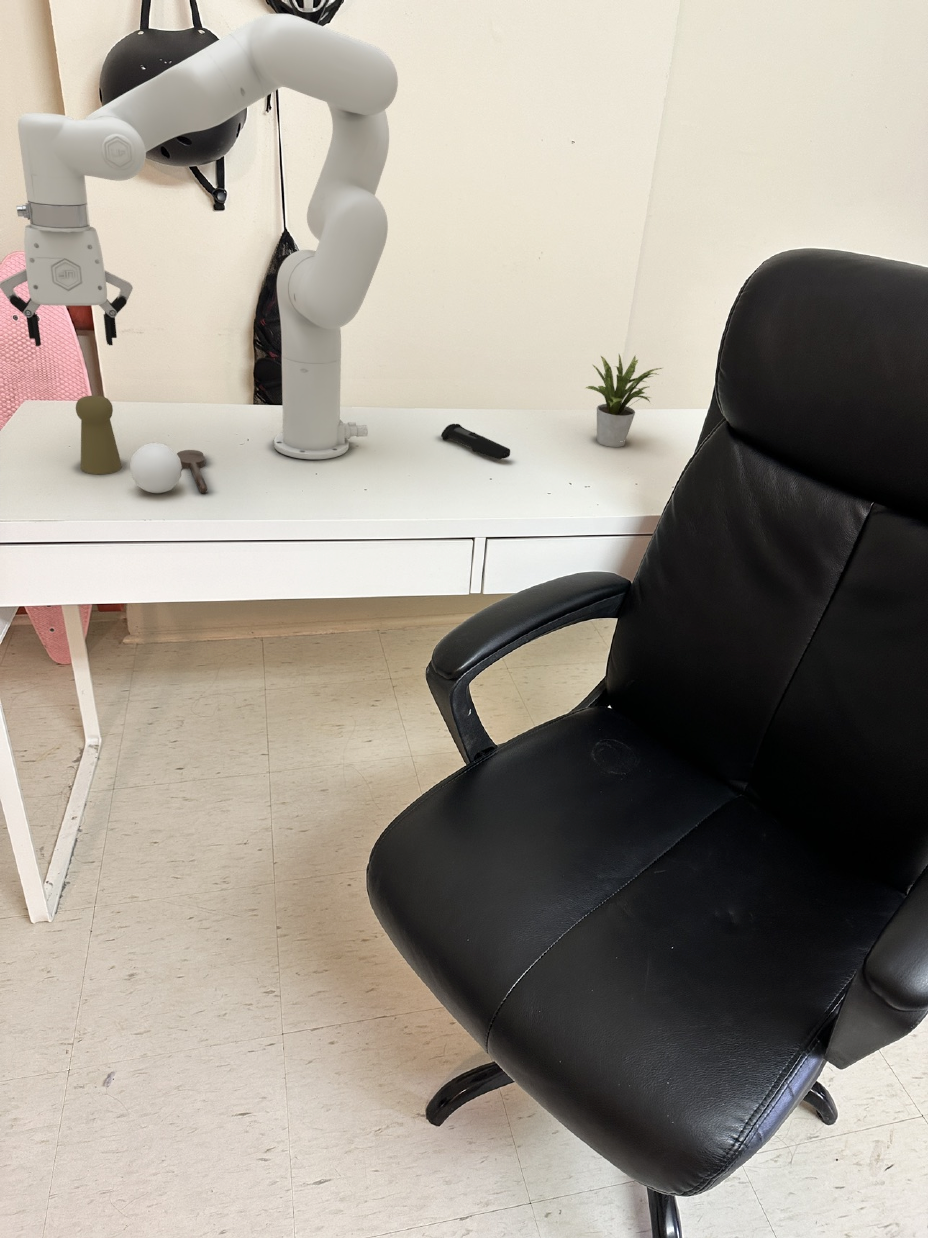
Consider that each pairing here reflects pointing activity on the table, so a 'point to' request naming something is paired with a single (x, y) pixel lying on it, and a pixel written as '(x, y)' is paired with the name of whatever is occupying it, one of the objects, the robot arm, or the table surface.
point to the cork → (97, 436)
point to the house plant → (617, 403)
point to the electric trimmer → (475, 441)
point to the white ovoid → (155, 468)
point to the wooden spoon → (194, 466)
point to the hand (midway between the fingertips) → (74, 343)
